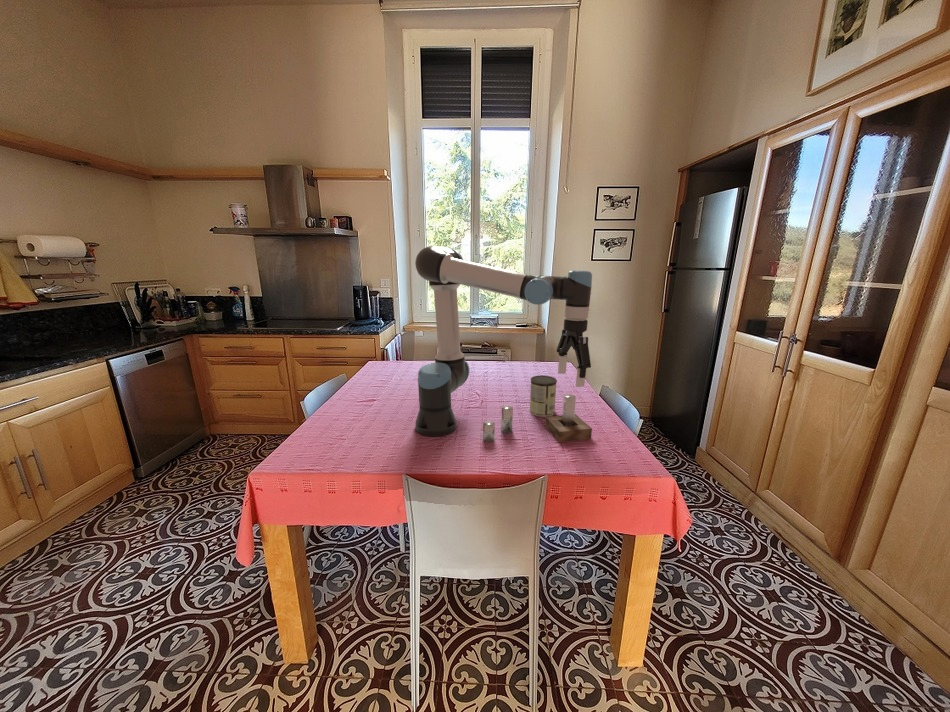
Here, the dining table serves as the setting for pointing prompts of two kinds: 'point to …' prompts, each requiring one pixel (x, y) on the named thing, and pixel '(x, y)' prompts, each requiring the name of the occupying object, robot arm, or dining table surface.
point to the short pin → (488, 431)
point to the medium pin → (506, 419)
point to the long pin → (568, 410)
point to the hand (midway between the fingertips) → (570, 379)
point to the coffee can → (542, 396)
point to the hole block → (568, 429)
